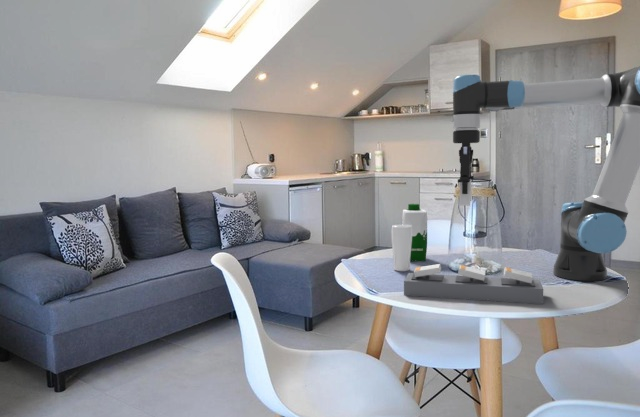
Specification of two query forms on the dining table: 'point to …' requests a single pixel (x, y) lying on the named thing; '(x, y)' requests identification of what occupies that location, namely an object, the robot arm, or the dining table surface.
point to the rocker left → (427, 270)
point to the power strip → (474, 288)
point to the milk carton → (417, 231)
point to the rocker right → (518, 275)
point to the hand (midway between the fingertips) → (465, 203)
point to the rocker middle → (471, 272)
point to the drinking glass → (401, 246)
